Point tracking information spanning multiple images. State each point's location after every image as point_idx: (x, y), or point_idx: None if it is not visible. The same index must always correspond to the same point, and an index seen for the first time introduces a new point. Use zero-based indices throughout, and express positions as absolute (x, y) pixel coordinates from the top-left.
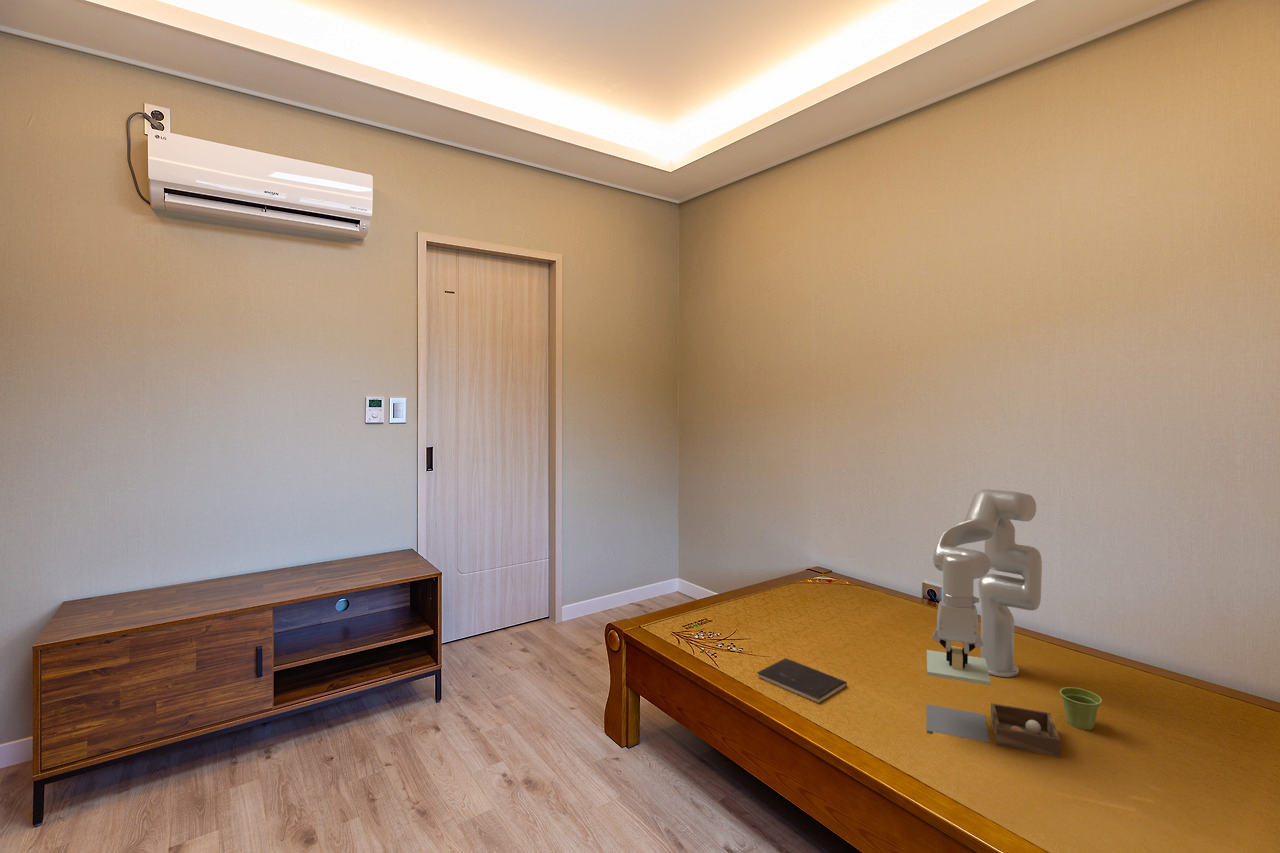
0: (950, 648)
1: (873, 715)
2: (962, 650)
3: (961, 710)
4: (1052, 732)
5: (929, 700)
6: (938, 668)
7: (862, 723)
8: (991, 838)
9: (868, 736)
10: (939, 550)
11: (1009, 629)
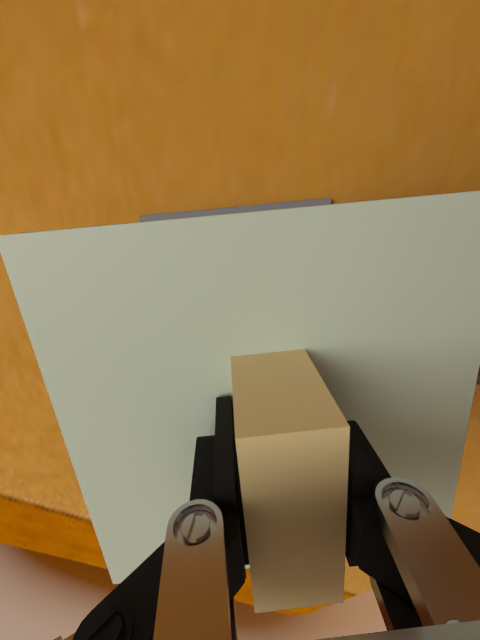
0: (235, 618)
1: (12, 359)
2: (352, 502)
3: (258, 206)
4: None
5: (143, 159)
6: (164, 526)
7: (5, 414)
8: (302, 610)
9: (44, 461)
10: None
11: None
